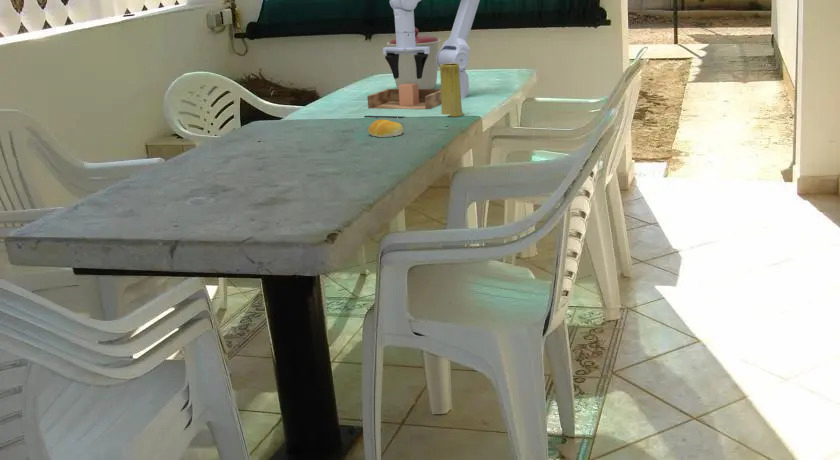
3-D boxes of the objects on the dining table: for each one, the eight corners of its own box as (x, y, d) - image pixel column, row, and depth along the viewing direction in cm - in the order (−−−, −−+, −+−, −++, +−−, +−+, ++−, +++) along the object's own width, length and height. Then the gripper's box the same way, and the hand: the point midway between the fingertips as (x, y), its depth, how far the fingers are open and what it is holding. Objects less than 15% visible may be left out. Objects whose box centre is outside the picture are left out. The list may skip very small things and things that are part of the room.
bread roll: (385, 139, 222) (384, 124, 221) (364, 136, 229) (362, 120, 228) (410, 134, 227) (409, 118, 226) (388, 130, 234) (387, 115, 233)
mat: (379, 111, 263) (379, 110, 263) (416, 111, 258) (416, 110, 258) (364, 117, 255) (364, 116, 255) (401, 118, 250) (401, 117, 250)
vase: (463, 113, 252) (461, 62, 248) (462, 116, 246) (459, 65, 242) (441, 114, 253) (439, 63, 248) (440, 117, 247) (437, 66, 243)
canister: (381, 90, 305) (377, 28, 299) (429, 85, 312) (425, 24, 306) (403, 96, 289) (399, 30, 283) (452, 90, 297) (449, 26, 290)
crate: (388, 103, 278) (387, 88, 276) (447, 103, 269) (447, 89, 268) (368, 110, 265) (367, 95, 264) (429, 111, 257) (428, 96, 256)
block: (405, 102, 271) (404, 83, 269) (419, 103, 269) (418, 83, 267) (399, 105, 267) (398, 85, 265) (413, 105, 265) (412, 85, 263)
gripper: (377, 33, 261) (380, 80, 265) (422, 33, 255) (424, 80, 259) (387, 31, 267) (390, 76, 271) (431, 30, 262) (434, 77, 265)
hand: (407, 78), depth 266 cm, fingers open, 7 cm apart
